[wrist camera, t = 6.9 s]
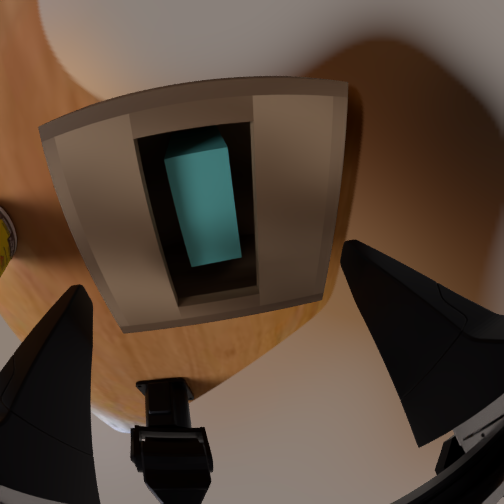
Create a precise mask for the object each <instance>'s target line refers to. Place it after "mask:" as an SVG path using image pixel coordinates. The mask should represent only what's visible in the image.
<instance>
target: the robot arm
mask: <svg viewBox="0 0 504 504" xmlns="http://www.w3.org/2000/svg"><path fill="white" fill-rule="evenodd" d="M340 263H341V267H342V270H343V272H344V275H345V277H346V280H347V282H348V285H349V287H350V289H351V292H352V295H353V298H354V300H355V302H356V304H357V307H358V309H359V310H360V313H361V315H362V317H363V319H364V321H365V323H366V325H367V327H368V329H369V331H370V333H371V335H372V337H373V339H374V341H375V343H376V345H377V348H378V350H379V352H380V354H381V356H382V358H383V361H384V363H385V365H386V367H387V370H388V372H389V374H390V377H391V379H392V381H393V384H394V386H395V388H396V391H397V393H398V396H399V398H400V400H401V403H402V406H403V408H404V411H405V413H406V416H407V418H408V421H409V424H410V426H411V429H412V432H413V434H414V437H415V440H416V443H417V445H418V447H422V446H424V445H426V444H427V443H430V442H431V441H433V440H435V439H437V438H439V437H440V436H442V435H444V434H446V433H448V432H449V431H451V430H453V432H454V435H453V436H452V437H450V438H449V439H448V440H447V441H445V442H444V443H443V446H442V450H441V453H440V456H439V459H438V462H437V465H436V468H435V471H436V474H437V476H435V477H434V478H432V479H431V480H430V481H428V482H427V483H425V484H423V485H422V486H420V487H419V488H417V489H416V490H414V491H412V492H411V493H409V494H408V495H405V496H404V497H402V498H400V499H398V500H397V501H395V502H393V503H391V504H496V503H497V502H498V501H499V500H500V499H501V498H502V497H504V315H499V314H496V313H494V312H491V311H490V310H488V309H486V308H484V307H482V306H480V305H478V304H476V303H474V302H472V301H470V300H468V299H466V298H464V297H462V296H461V295H459V294H457V293H455V292H453V291H451V290H450V289H448V288H446V287H444V286H442V285H441V284H439V283H436V282H435V281H433V280H432V279H430V278H428V277H426V276H425V275H423V274H421V273H419V272H417V271H415V270H414V269H412V268H410V267H408V266H406V265H404V264H402V263H401V262H399V261H397V260H395V259H393V258H391V257H389V256H387V255H385V254H383V253H382V252H379V251H378V250H376V249H373V248H371V247H370V246H367V245H366V244H364V243H362V242H360V241H358V240H349V241H345V242H344V245H343V249H342V254H341V260H340ZM92 349H93V304H92V301H91V299H90V297H89V296H88V294H87V292H86V290H85V288H84V287H83V286H82V285H80V284H79V285H73V286H71V287H70V288H69V289H68V290H67V291H66V292H65V293H64V294H63V295H62V296H61V297H60V298H59V300H58V301H57V302H56V303H55V304H54V305H53V306H52V307H51V308H50V310H49V311H48V312H47V313H46V314H45V315H44V317H43V318H42V319H41V320H40V321H39V322H38V324H37V325H36V326H35V327H34V328H33V330H32V331H31V332H30V333H29V335H28V336H27V337H26V338H25V340H24V341H23V342H22V343H21V345H20V346H19V347H18V349H17V350H16V351H15V353H14V355H13V356H12V357H11V358H10V359H9V361H8V362H7V363H6V365H5V366H4V367H3V369H2V370H1V372H0V504H100V499H99V493H98V488H97V481H96V474H95V467H94V457H93V449H92V435H91V405H90V395H91V365H92ZM136 387H137V388H138V389H139V390H140V391H141V392H142V394H143V395H144V396H145V410H146V427H144V426H139V425H135V428H131V456H130V458H131V461H132V462H133V463H135V466H136V467H137V470H138V472H143V476H144V482H145V484H146V485H147V487H148V489H149V490H150V491H151V493H152V494H153V495H154V496H155V497H156V499H157V500H158V501H159V502H160V503H161V504H201V503H202V501H203V499H204V496H205V494H206V492H207V490H208V488H209V485H210V483H211V477H210V472H213V459H212V454H211V450H210V446H209V443H208V439H207V435H206V431H205V427H200V428H191V420H190V412H189V403H188V400H193V399H194V395H193V393H192V392H191V390H190V388H189V387H188V385H187V383H186V382H185V380H184V379H182V378H179V379H169V380H159V381H146V382H137V383H136ZM142 439H145V441H142Z"/></svg>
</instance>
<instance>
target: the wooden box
mask: <svg viewBox="0 0 504 504" xmlns="http://www.w3.org/2000/svg"><path fill="white" fill-rule="evenodd" d="M347 101H348V82H342V81H335V80H327V79H317V78H305V77H291V76H254V77H234V78H221V79H211V80H202V81H194V82H187V83H180V84H174V85H168V86H163V87H158V88H153V89H148V90H143V91H139V92H135V93H130V94H127V95H123V96H119V97H115V98H112V99H108V100H105V101H101V102H98V103H95V104H92V105H89V106H87V107H84V108H81V109H79V110H76V111H73V112H71V113H68V114H66V115H64V116H61V117H59V118H57V119H54V120H52V121H50V122H48V123H46V124H43V125H41V126H39V127H38V128H39V133H40V137H41V142H42V146H43V150H44V154H45V157H46V161H47V165H48V168H49V172H50V175H51V178H52V181H53V184H54V188H55V191H56V193H57V196H58V199H59V202H60V205H61V208H62V210H63V213H64V216H65V218H66V221H67V223H68V226H69V228H70V231H71V233H72V236H73V238H74V240H75V243H76V245H77V247H78V249H79V252H80V254H81V256H82V258H83V260H84V262H85V264H86V266H87V269H88V271H89V273H90V275H91V277H92V279H93V281H94V282H95V284H96V286H97V288H98V290H99V292H100V294H101V296H102V297H103V299H104V301H105V303H106V305H107V306H108V308H109V310H110V312H111V313H112V315H113V317H114V318H115V320H116V322H117V323H118V325H119V327H120V328H121V330H122V332H123V333H134V332H142V331H151V330H159V329H167V328H174V327H181V326H188V325H195V324H201V323H208V322H214V321H220V320H226V319H232V318H237V317H243V316H248V315H254V314H259V313H264V312H269V311H274V310H279V309H284V308H289V307H293V306H298V305H302V304H307V303H311V302H316V301H320V300H322V297H323V293H324V288H325V283H326V277H327V272H328V267H329V261H330V255H331V250H332V244H333V237H334V231H335V224H336V218H337V210H338V203H339V195H340V187H341V178H342V169H343V159H344V148H345V135H346V120H347ZM209 126H217V128H218V130H219V132H220V134H221V136H222V138H223V140H224V141H225V143H226V145H227V147H228V156H229V164H230V172H231V179H232V187H233V195H234V203H235V210H236V218H237V226H238V233H239V241H240V248H241V256H242V257H241V258H236V259H231V260H226V261H220V262H215V263H210V264H205V265H200V266H195V267H191V264H190V260H189V257H188V253H187V250H186V246H185V242H184V239H183V235H182V231H181V228H180V224H179V220H178V216H177V212H176V208H175V204H174V200H173V196H172V192H171V188H170V184H169V179H168V175H167V171H166V166H165V162H164V158H165V154H166V151H167V148H168V144H169V141H170V138H171V135H172V134H173V133H178V132H182V131H187V130H193V129H198V128H204V127H209Z"/></svg>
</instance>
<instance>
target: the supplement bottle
mask: <svg viewBox="0 0 504 504" xmlns="http://www.w3.org/2000/svg"><path fill="white" fill-rule="evenodd" d="M16 246H17V237H16V232H15V228H14V226H13V223H12V221H11V219H10V218H9V216H8V215H7V213H6V212H5V211H4V210H3V209H2V208H1V207H0V277H1V275H2V273H3V272H4V270H5V268H6V267H7V265H8V263H9V262H10V260H11V259H12V257H13V255H14V253H15V251H16Z"/></svg>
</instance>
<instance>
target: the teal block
mask: <svg viewBox="0 0 504 504" xmlns="http://www.w3.org/2000/svg"><path fill="white" fill-rule="evenodd" d="M164 162H165V166H166V171H167V175H168V179H169V184H170V188H171V192H172V196H173V200H174V204H175V208H176V212H177V216H178V220H179V224H180V228H181V231H182V235H183V239H184V242H185V246H186V250H187V253H188V257H189V260H190V264H191V267H195V266H200V265H205V264H210V263H215V262H220V261H226V260H231V259H236V258H241V257H242V256H241V248H240V241H239V233H238V226H237V218H236V210H235V203H234V195H233V187H232V179H231V172H230V164H229V156H228V147H227V145H226V143H225V141H224V140H223V138H222V136H221V134H220V132H219V130H218V128H217V126H209V127H204V128H198V129H193V130H187V131H182V132H178V133H173V134H172V135H171V138H170V141H169V144H168V148H167V151H166V154H165V158H164Z"/></svg>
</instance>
